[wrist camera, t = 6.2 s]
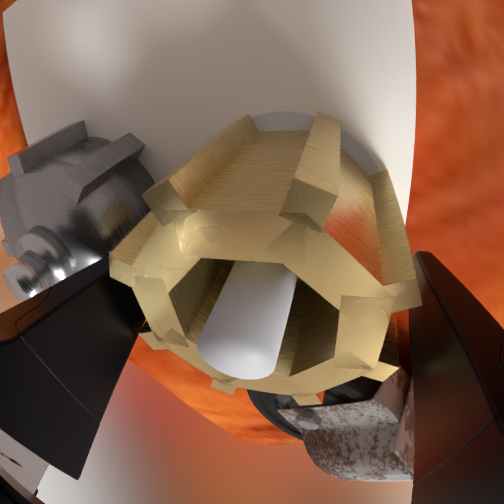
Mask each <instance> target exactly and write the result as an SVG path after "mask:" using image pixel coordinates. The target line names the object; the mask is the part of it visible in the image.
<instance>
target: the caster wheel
mask: <svg viewBox="0 0 504 504" xmlns="http://www.w3.org/2000/svg"><path fill="white" fill-rule="evenodd" d="M247 392H248V395H249V397H250V399H251V401H252V402H253V404H254V406H255V407H256V408H257V409H258V410H259V412H260V413H261V414H262V415H263V416H265V417H266V418H267V419H268V420H269V421H270V422H272V423H273V424H274V425H276V426H277V427H278V428H280V429H281V430H283V431H285V432H286V433H288V434H290V435H292V436H294V437H296V438H298V439H300V440H303V441H304V444H305V447H306V449H307V452H308V454H309V456H310V457H311V459H312V460H313V462H314V463H315V464H316V466H318V467H319V468H320V469H321V470H322V471H324V472H326V473H327V474H329V475H331V476H334V477H337V478H340V479H345V480H353V481H412V480H413V476H414V446H415V422H414V392H413V377H412V380H411V379H410V378H409V376H408V375H407V373H406V372H405V370H404V369H403V368H402V367H401V366H400V365H399V368H398V369H397V370H396V371H395V372H394V373H393V374H392V375H390V376H389V377H388V378H387V379H386V380H384V381H383V382H382V381H378V380H375V379H371V378H368V377H365V376H360V377H358V378H355V379H353V380H350V381H348V382H345V383H343V384H340V385H338V386H335V387H332V388H330V389H327V390H325V391H324V397H323V403H322V404H315V405H301V406H300V405H299V404H298V403H297V402H296V401H295V399H294V398H293V397H292V396H290V395H283V394H276V393H269V392H262V391H256V390H250V389H247Z"/></svg>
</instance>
